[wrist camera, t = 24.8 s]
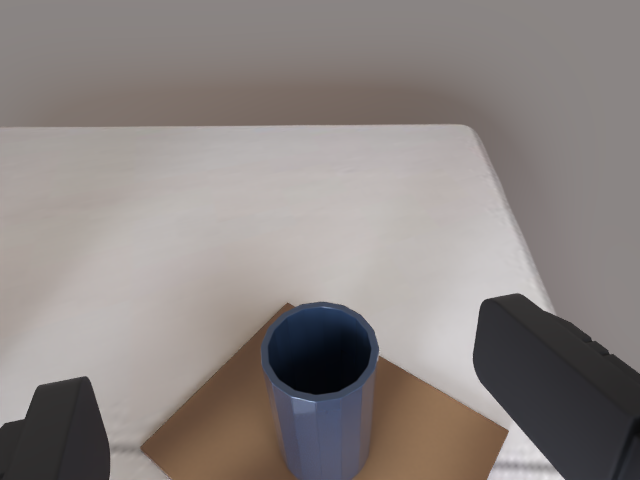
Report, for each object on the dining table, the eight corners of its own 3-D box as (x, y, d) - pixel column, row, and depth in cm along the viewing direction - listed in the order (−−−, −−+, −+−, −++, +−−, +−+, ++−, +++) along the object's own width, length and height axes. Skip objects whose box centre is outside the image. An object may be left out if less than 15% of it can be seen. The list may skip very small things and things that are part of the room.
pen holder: (261, 450, 32) (236, 358, 24) (316, 383, 35) (309, 286, 28) (335, 509, 29) (332, 425, 21) (387, 430, 32) (399, 335, 25)
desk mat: (141, 451, 32) (139, 447, 32) (287, 305, 42) (287, 302, 41) (389, 689, 23) (390, 688, 23) (507, 434, 32) (509, 430, 32)
